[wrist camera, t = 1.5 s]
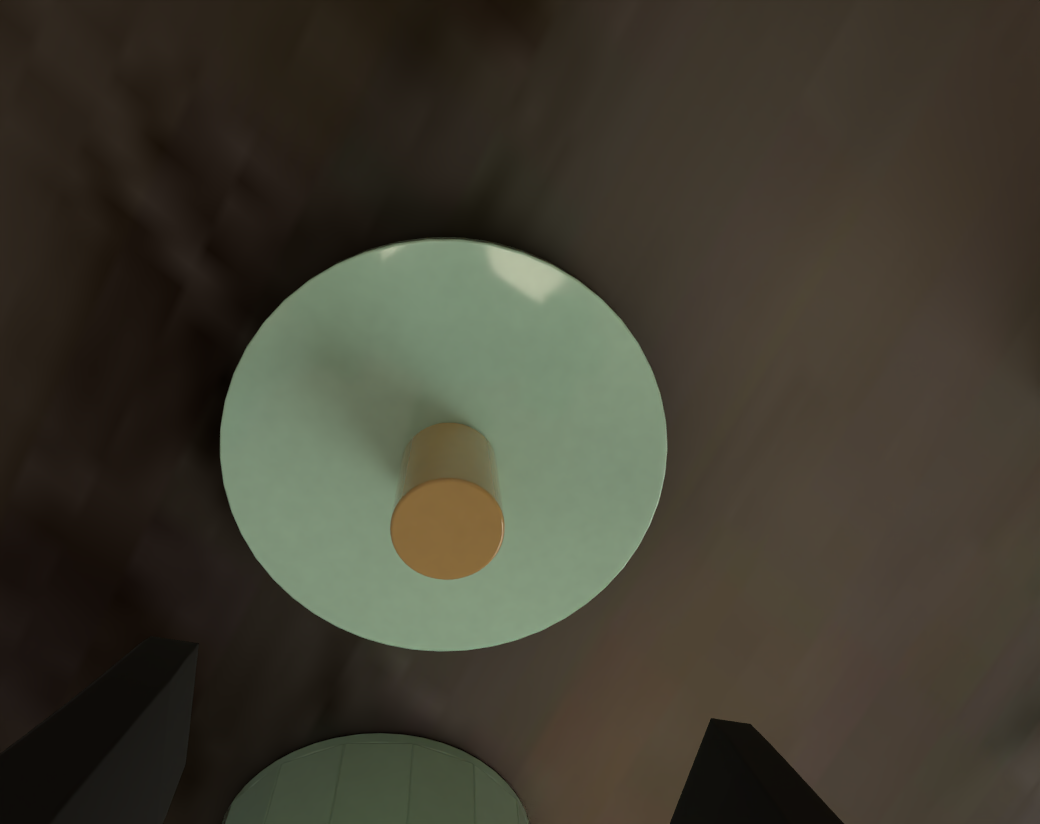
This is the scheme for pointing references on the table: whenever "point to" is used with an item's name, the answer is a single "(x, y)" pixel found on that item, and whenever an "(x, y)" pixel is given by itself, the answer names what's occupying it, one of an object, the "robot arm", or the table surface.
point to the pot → (377, 786)
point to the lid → (443, 444)
